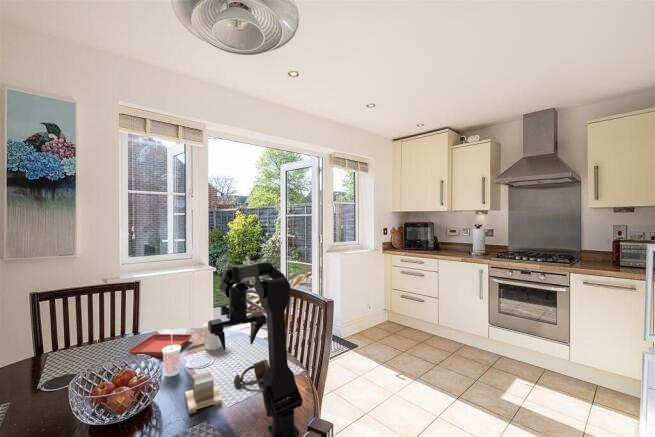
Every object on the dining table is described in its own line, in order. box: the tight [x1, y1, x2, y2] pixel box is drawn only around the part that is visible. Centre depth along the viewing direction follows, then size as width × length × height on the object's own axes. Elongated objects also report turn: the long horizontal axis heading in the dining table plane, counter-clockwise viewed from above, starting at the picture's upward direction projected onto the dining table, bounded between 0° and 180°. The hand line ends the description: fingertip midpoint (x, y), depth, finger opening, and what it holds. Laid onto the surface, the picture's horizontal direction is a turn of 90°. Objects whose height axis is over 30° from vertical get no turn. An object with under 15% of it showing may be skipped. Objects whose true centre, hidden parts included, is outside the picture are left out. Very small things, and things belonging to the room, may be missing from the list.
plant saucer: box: [127, 333, 193, 358], centre depth 128 cm, size 18×18×3 cm
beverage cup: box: [162, 333, 182, 377], centre depth 109 cm, size 6×6×14 cm
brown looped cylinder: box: [233, 359, 269, 388], centre depth 104 cm, size 7×13×10 cm
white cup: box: [202, 321, 222, 351], centre depth 131 cm, size 8×8×10 cm
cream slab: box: [184, 383, 223, 415], centre depth 93 cm, size 10×9×2 cm
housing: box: [192, 370, 215, 403], centre depth 93 cm, size 6×5×6 cm
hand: (238, 347), depth 103 cm, fingers open, 9 cm apart
